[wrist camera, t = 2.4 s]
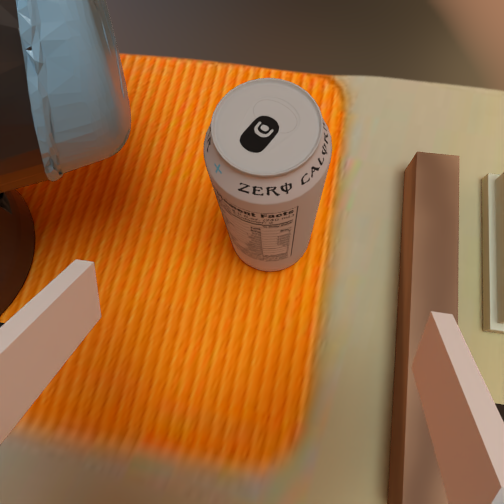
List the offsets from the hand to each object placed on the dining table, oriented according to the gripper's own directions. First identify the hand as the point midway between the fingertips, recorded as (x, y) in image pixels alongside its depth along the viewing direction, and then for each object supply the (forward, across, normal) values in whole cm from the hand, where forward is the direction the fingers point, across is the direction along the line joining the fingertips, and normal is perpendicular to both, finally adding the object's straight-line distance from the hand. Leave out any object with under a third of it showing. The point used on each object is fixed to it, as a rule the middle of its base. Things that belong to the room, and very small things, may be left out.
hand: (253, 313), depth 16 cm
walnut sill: (+12, +11, -8) cm, 18 cm away
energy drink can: (+16, -1, -4) cm, 16 cm away
